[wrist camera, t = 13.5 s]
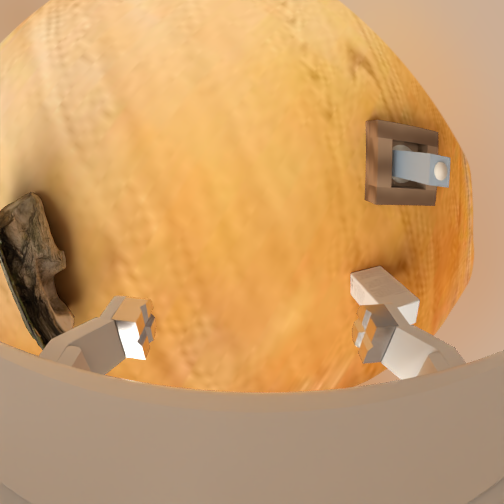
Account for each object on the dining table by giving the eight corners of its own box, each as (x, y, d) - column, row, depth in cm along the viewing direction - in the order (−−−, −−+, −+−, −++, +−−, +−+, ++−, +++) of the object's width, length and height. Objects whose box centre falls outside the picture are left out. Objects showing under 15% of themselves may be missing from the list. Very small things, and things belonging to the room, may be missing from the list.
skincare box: (349, 294, 44) (381, 336, 33) (349, 272, 43) (384, 311, 31) (380, 286, 44) (416, 323, 33) (381, 264, 43) (420, 299, 32)
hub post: (392, 149, 35) (431, 153, 26) (412, 153, 35) (451, 158, 26) (391, 175, 36) (429, 185, 28) (410, 177, 37) (450, 187, 28)
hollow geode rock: (81, 318, 47) (107, 356, 37) (32, 341, 38) (46, 388, 29) (45, 181, 36) (55, 181, 27) (-16, 202, 27) (-29, 210, 18)
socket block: (365, 121, 34) (377, 119, 31) (424, 131, 35) (438, 132, 32) (364, 199, 38) (375, 204, 35) (422, 201, 39) (434, 205, 36)
